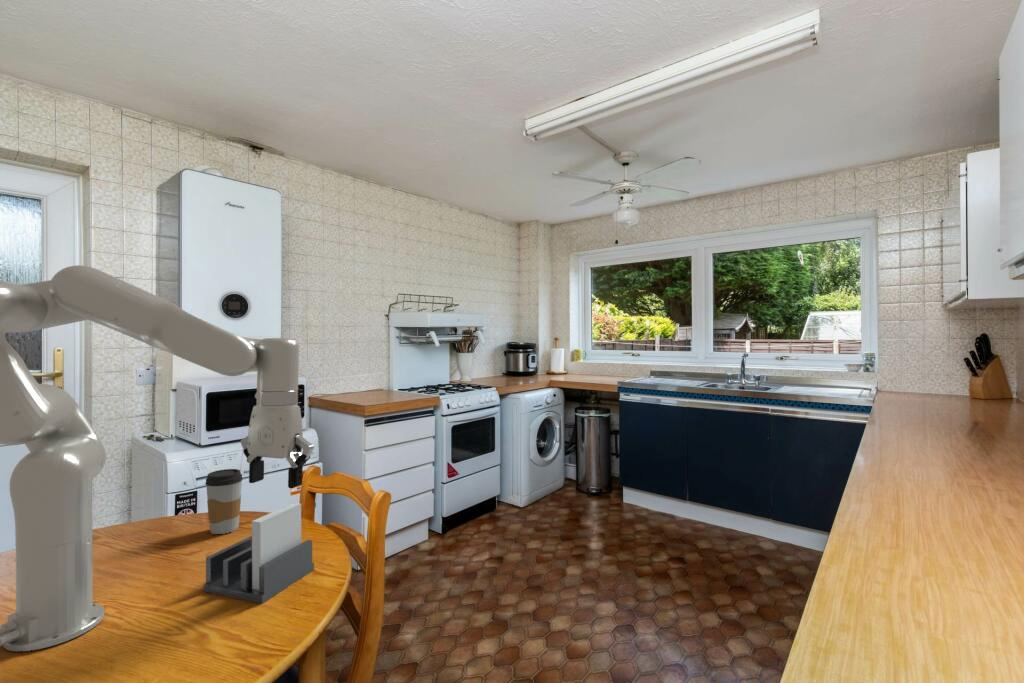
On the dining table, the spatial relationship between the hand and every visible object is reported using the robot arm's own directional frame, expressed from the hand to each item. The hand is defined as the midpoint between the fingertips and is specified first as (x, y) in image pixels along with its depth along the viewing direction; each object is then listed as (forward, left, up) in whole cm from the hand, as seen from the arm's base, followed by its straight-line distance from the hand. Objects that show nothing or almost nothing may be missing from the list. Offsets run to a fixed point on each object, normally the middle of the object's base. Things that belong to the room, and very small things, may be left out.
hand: (275, 483), depth 98 cm
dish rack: (0, +4, -20) cm, 21 cm away
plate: (0, 0, -19) cm, 19 cm away
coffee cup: (+18, +34, -21) cm, 44 cm away
